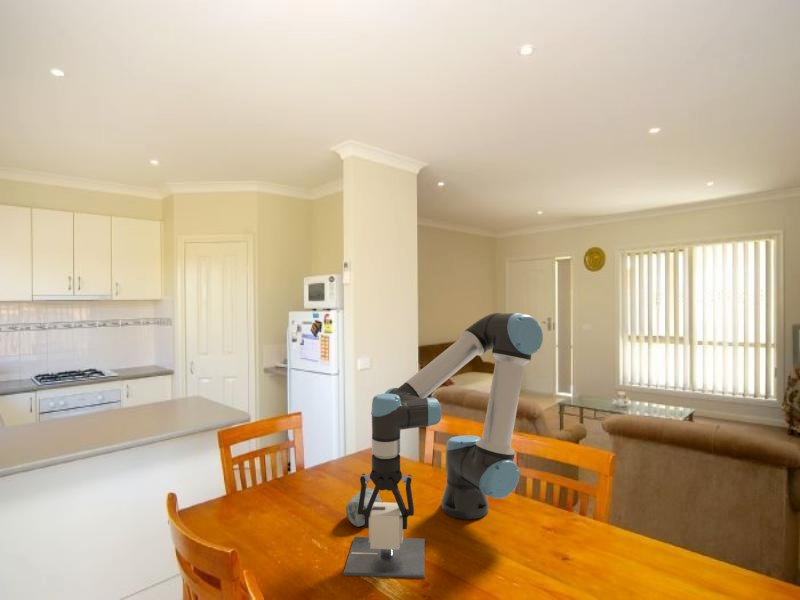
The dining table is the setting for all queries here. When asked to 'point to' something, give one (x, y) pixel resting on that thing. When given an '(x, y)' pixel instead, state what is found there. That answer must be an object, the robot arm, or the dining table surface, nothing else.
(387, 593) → the dining table surface
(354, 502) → the spool
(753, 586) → the dining table surface
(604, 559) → the dining table surface
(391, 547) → the white drawer box
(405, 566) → the gray board
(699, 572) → the dining table surface
